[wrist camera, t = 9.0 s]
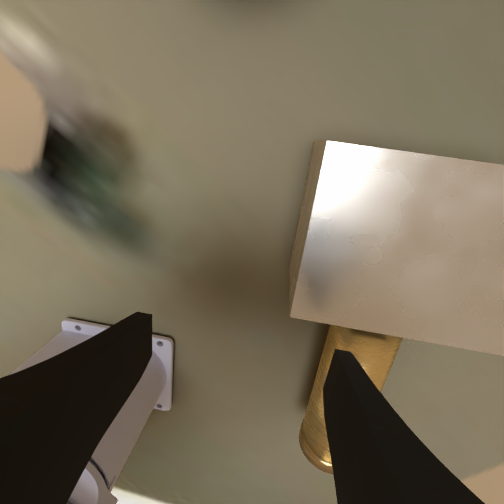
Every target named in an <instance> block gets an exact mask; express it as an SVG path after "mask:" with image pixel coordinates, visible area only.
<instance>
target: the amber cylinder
mask: <svg viewBox="0 0 504 504" xmlns="http://www.w3.org/2000/svg"><path fill="white" fill-rule="evenodd" d="M402 339H403V338H402V337H396V336H391V335H385V334H380V333H374V332H369V331H363V330H358V329H352V328H347V327H341V326H336V325H330V328H329V331H328V335H327V338H326V342H325V346H324V349H323V353H322V356H321V360H320V363H319V367H318V371H317V374H316V378H315V381H314V385H313V388H312V392H311V396H310V399H309V403H308V406H307V410H306V413H305V417H304V419H303V422H302V425H301V429H300V433H299V443H300V446H301V449H302V451H303V453H304V455H305V456H306V458H307V459H308V460H309V461H310V462H311V463H312V464H313V465H314V466H315V467H317V468H318V469H320V470H322V471H324V472H326V473H330V474H333V468H332V462H331V456H330V450H329V444H328V438H327V432H326V426H325V419H324V406H323V387H324V383H325V380H326V377H327V373H328V370H329V367H330V363H331V360H332V357H333V353H334V350H335V349H339V350H344V351H350V352H352V354H353V355H354V356H355V358H356V359H357V361H358V362H359V363H360V365H361V366H362V368H363V369H364V371H365V372H366V373H367V375H368V376H369V378H370V379H371V380H372V382H373V383H374V384H375V386H376V387H377V389H378V390H379V391H380V392H381V391H382V388H383V386H384V383H385V381H386V378H387V376H388V373H389V371H390V368H391V366H392V364H393V361H394V359H395V356H396V354H397V351H398V349H399V346H400V344H401V341H402Z"/></svg>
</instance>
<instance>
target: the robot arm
mask: <svg viewBox="0 0 504 504" xmlns="http://www.w3.org/2000/svg"><path fill="white" fill-rule="evenodd" d="M61 325H62V331H61V332H60V333H59V334H57V335H56V336H55V337H54V338H53V339H51V340H50V341H49V342H48V343H46V344H45V345H44V346H43V347H42V348H40V349H39V350H38V351H37V352H36V353H34V354H33V355H32V356H31V357H30V358H28V359H27V360H26V361H25V362H24V363H22V364H21V365H20V366H19V367H17V368H16V369H15V370H14V371H13V372H11V373H10V374H9V375H8V376H5V377H2V378H0V504H116V503H117V501H118V500H117V498H116V497H114V496H113V495H112V494H111V493H110V492H111V490H112V488H113V487H114V485H115V483H116V481H117V479H118V477H119V475H120V473H121V471H122V469H123V467H124V465H125V463H126V461H127V459H128V457H129V455H130V453H131V451H132V449H133V447H134V446H135V444H136V442H137V440H138V438H139V436H140V434H141V432H142V430H143V428H144V426H145V424H146V422H147V420H148V418H149V416H150V414H151V412H152V410H153V409H158V410H163V411H169V410H170V408H171V406H172V380H173V347H174V343H173V340H172V339H171V338H168V337H164V336H159V335H153V334H152V314H146V313H141V312H136V313H134V314H132V315H130V316H129V317H127V318H125V319H123V320H121V321H120V322H118V323H116V324H114V325H113V326H106V325H101V324H96V323H91V322H86V321H80V320H75V319H70V318H66V319H65V320H63V321H62V322H61ZM79 326H80V327H79ZM159 341H161V342H162V343H160V342H159ZM323 406H324V419H325V426H326V432H327V438H328V444H329V450H330V456H331V462H332V468H333V474H334V480H335V487H336V495H337V503H338V504H485V503H483V502H482V501H481V500H480V499H479V498H478V497H477V496H476V495H475V494H474V493H472V492H471V491H470V490H469V489H468V488H467V487H466V486H465V485H464V484H463V483H462V482H461V481H460V480H459V479H458V478H457V477H456V476H455V475H454V474H452V473H451V472H450V471H449V470H448V469H447V468H446V467H445V466H444V465H443V464H442V463H441V462H440V461H439V460H438V459H437V458H436V456H435V455H434V454H433V453H432V452H431V451H430V450H429V449H428V448H427V447H426V446H425V445H424V444H423V443H422V442H421V441H420V440H419V438H418V437H417V436H416V435H415V434H414V433H413V432H412V431H411V429H410V428H409V427H408V426H407V425H406V424H405V422H404V421H403V420H402V419H401V418H400V416H399V415H398V414H397V413H396V412H395V410H394V409H393V408H392V407H391V405H390V404H389V403H388V402H387V400H386V399H385V398H384V396H383V395H382V394H381V392H380V391H379V390H378V389H377V387H376V386H375V384H374V383H373V382H372V380H371V379H370V378H369V376H368V375H367V373H366V372H365V371H364V369H363V368H362V366H361V365H360V363H359V362H358V361H357V359H356V358H355V356H354V355H353V354H352V352H350V351H344V350H339V349H335V350H334V353H333V357H332V360H331V363H330V367H329V370H328V373H327V377H326V380H325V383H324V387H323Z"/></svg>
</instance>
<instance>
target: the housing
mask: <svg viewBox="0 0 504 504" xmlns="http://www.w3.org/2000/svg"><path fill="white" fill-rule="evenodd" d="M290 317H292V318H297V319H303V320H308V321H314V322H319V323H325V324H330V325H336V326H341V327H347V328H352V329H358V330H363V331H369V332H374V333H380V334H385V335H391V336H396V337H402V338H407V339H413V340H418V341H424V342H429V343H435V344H440V345H446V346H452V347H457V348H463V349H468V350H474V351H479V352H485V353H490V354H496V355H501V356H504V165H501V164H494V163H486V162H479V161H472V160H464V159H457V158H450V157H443V156H435V155H428V154H421V153H413V152H406V151H399V150H392V149H384V148H377V147H370V146H363V145H355V144H348V143H341V142H333V141H314V143H313V149H312V154H311V159H310V164H309V169H308V174H307V179H306V184H305V189H304V194H303V199H302V205H301V210H300V215H299V220H298V225H297V230H296V235H295V240H294V245H293V250H292V255H291V261H290Z"/></svg>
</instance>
